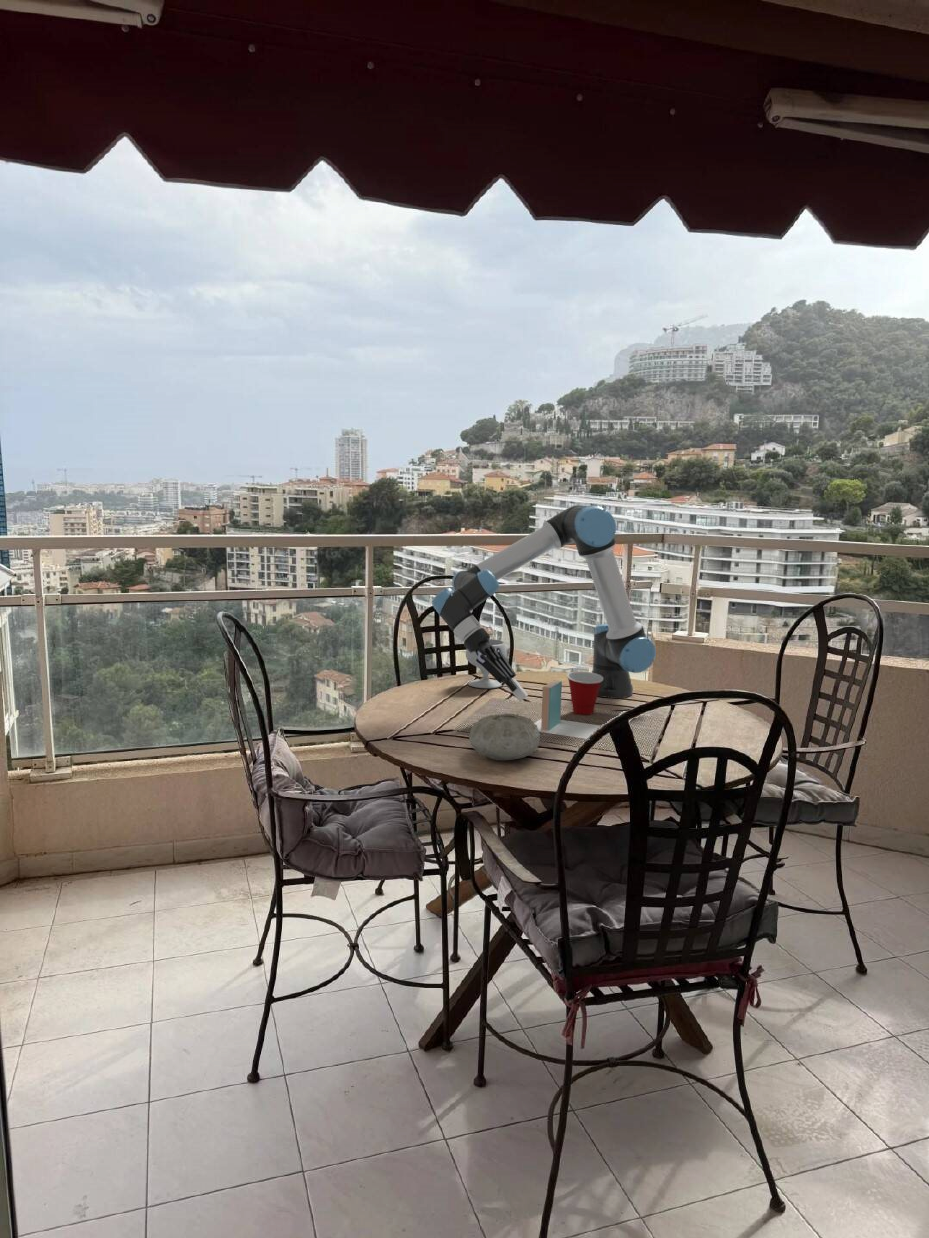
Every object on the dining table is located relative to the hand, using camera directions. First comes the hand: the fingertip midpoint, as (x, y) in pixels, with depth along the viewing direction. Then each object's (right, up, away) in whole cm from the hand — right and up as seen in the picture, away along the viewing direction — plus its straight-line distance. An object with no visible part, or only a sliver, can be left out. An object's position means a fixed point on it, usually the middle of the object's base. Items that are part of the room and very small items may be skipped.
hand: (524, 698), depth 232 cm
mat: (+12, -8, -4) cm, 15 cm away
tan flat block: (+7, -7, -2) cm, 11 cm away
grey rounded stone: (-7, -12, -26) cm, 30 cm away
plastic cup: (+19, -6, +12) cm, 23 cm away
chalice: (-10, 0, +47) cm, 48 cm away
